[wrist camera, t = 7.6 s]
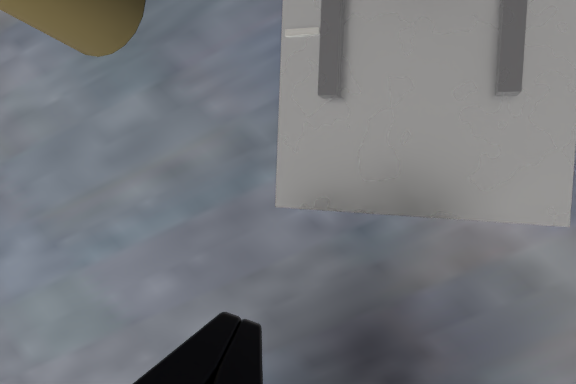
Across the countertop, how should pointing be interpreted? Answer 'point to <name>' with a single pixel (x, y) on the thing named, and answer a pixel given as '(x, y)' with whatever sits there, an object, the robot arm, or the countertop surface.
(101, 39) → the cork
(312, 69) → the plate
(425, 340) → the countertop surface
